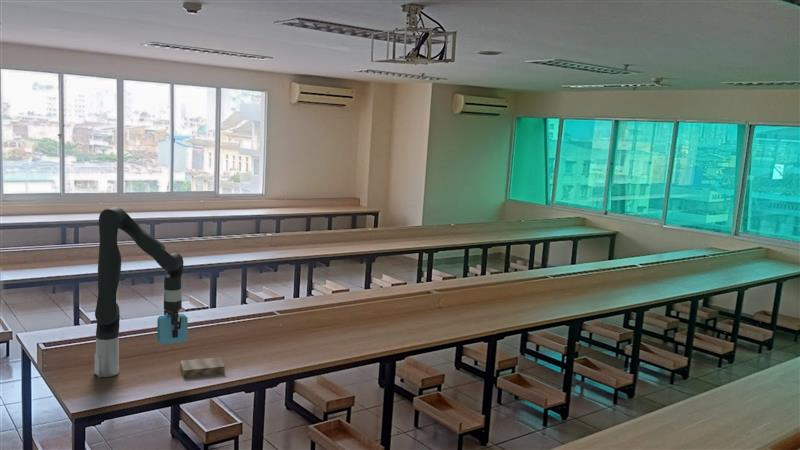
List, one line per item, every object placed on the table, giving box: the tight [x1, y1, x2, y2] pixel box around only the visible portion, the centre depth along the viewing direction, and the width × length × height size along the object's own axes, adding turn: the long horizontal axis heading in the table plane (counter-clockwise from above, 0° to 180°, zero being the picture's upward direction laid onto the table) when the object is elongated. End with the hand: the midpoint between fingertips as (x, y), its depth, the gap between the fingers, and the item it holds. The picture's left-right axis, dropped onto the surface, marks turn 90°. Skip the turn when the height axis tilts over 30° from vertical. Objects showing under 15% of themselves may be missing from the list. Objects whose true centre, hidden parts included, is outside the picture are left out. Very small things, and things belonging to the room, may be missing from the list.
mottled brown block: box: [179, 356, 226, 379], centre depth 300 cm, size 18×12×4 cm, turn 115°
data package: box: [156, 313, 189, 346], centre depth 287 cm, size 12×4×12 cm, turn 124°
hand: (172, 335), depth 287 cm, fingers closed on data package, 5 cm apart
